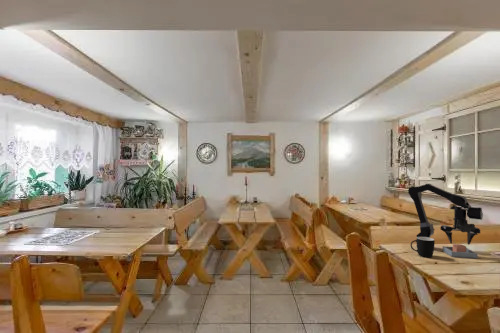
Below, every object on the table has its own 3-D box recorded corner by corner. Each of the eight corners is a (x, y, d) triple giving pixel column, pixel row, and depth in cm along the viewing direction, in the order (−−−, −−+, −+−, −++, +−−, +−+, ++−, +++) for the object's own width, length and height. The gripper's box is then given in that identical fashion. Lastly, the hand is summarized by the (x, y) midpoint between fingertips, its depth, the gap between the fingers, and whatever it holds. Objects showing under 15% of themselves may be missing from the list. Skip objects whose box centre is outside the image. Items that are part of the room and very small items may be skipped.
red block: (456, 254, 173) (456, 246, 173) (452, 252, 178) (452, 243, 178) (466, 255, 172) (466, 246, 172) (461, 253, 177) (462, 244, 177)
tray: (451, 256, 170) (451, 251, 170) (442, 251, 182) (442, 246, 182) (477, 258, 168) (477, 253, 168) (466, 252, 179) (466, 247, 179)
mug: (434, 255, 172) (434, 238, 172) (434, 259, 165) (434, 241, 165) (410, 252, 179) (411, 235, 179) (409, 255, 171) (410, 238, 171)
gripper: (448, 218, 169) (448, 246, 169) (486, 220, 165) (485, 248, 165) (440, 215, 180) (439, 241, 180) (475, 217, 176) (474, 243, 176)
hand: (459, 243), depth 175 cm, fingers open, 9 cm apart
